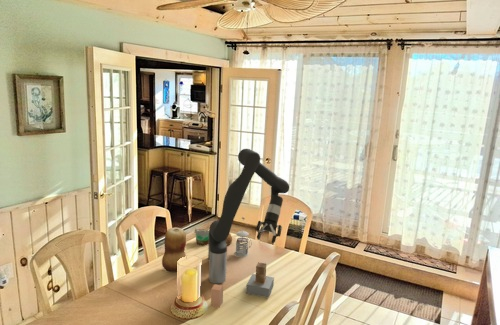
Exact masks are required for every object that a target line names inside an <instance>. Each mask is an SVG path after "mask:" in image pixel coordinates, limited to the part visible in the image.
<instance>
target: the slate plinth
mask: <svg viewBox="0 0 500 325" xmlns="http://www.w3.org/2000/svg"><path fill="white" fill-rule="evenodd" d="M255 280H256V273H252V274H251V276H250V278H249V279H248V281H247V282H246V286H245V287H246V290H245V294H248V295H252V296H258V297H262V298H270V295H271V293H272V290H273V288H274V284H275V283H274V281H275V277H273V276H267V275H266V280H265V282H264V284H263V283H258V282H255Z"/></svg>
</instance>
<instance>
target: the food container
mask: <svg viewBox="0 0 500 325" xmlns="http://www.w3.org/2000/svg"><path fill="white" fill-rule="evenodd" d="M193 232H194V233H195V242H196V245H198V244H199V246H208V245H209V230H208V229H197V228H196V227H195V228H194V231H193ZM207 244H208V245H207Z"/></svg>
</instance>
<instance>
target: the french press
mask: <svg viewBox="0 0 500 325" xmlns="http://www.w3.org/2000/svg"><path fill="white" fill-rule="evenodd" d="M245 218H246V217H245V216H242V217H241V219H242V220H245ZM235 235H236V236H237V237H238V238H237V239H236V242H235V252H234V253H233V255H234V256H235V257H237V258H247V257H249V256H250V253H249V252H248V251H249V249H250V248H251V247H252V239H251V238H250V237H249V235H250V233H249V232H247V231H246V230H239V231H238V232H236V234H235ZM249 243H250V245H249Z"/></svg>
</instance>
